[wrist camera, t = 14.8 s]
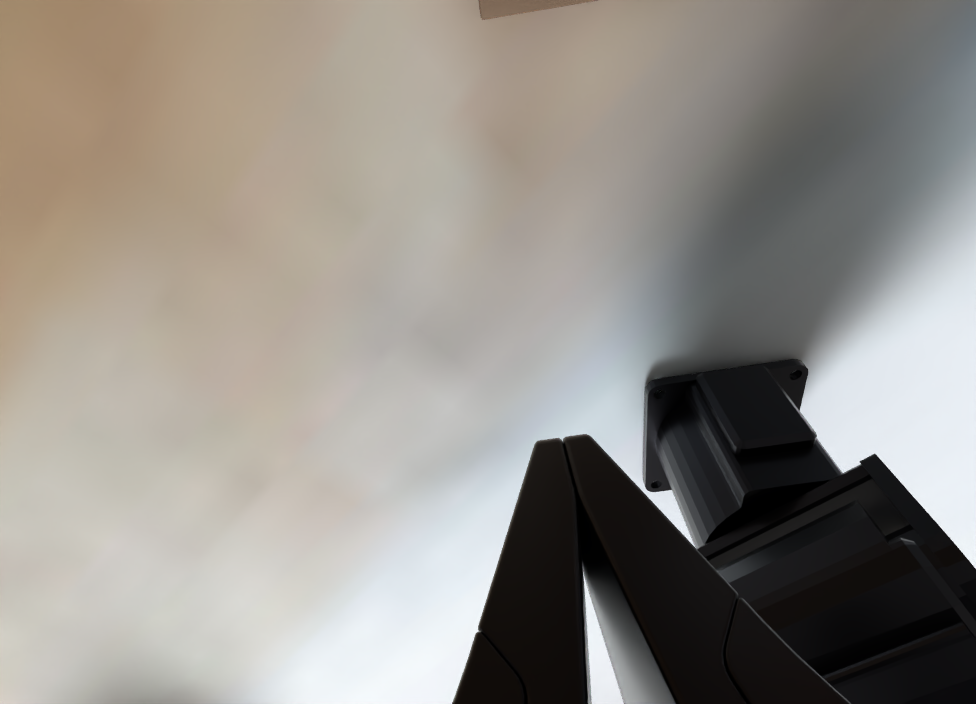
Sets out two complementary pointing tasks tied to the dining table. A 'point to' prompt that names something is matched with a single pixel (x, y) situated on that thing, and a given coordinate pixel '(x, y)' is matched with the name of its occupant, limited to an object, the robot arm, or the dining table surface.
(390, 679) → the dining table surface
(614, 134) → the dining table surface
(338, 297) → the dining table surface
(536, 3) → the colouring board
